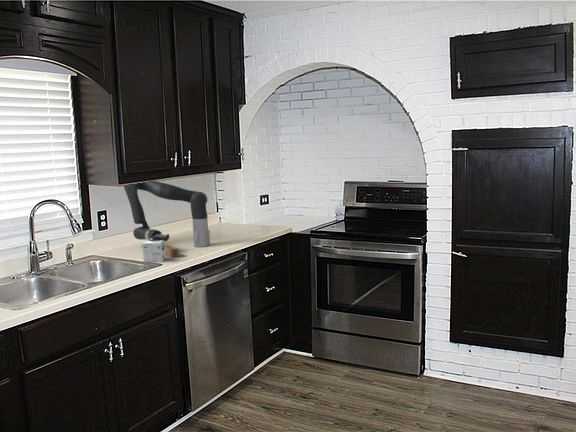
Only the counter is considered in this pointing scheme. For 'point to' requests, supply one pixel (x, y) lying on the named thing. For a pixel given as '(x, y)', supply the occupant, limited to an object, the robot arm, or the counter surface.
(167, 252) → the walnut block
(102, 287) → the counter surface
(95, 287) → the counter surface
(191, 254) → the counter surface
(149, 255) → the light bulb box
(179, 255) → the mat
